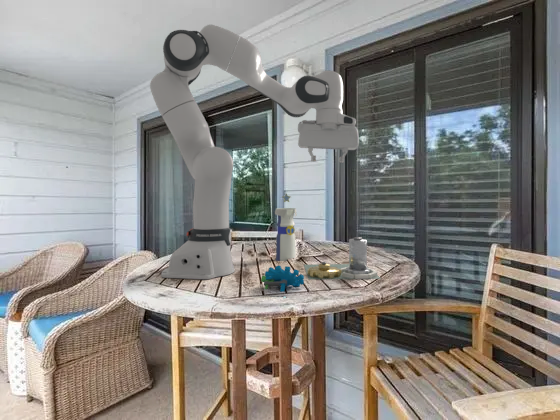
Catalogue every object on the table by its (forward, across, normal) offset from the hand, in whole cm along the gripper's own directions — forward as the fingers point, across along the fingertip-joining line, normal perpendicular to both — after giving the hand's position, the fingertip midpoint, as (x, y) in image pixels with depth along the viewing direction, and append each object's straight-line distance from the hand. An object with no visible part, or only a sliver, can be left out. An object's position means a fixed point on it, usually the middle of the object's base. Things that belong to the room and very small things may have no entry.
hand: (327, 161), depth 112 cm
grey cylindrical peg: (+35, +8, -15) cm, 39 cm away
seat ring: (+35, +8, -15) cm, 39 cm away
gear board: (+36, +3, -10) cm, 38 cm away
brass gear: (+35, -2, -15) cm, 38 cm away
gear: (+38, -14, -28) cm, 49 cm away
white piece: (+35, -12, +14) cm, 40 cm away
